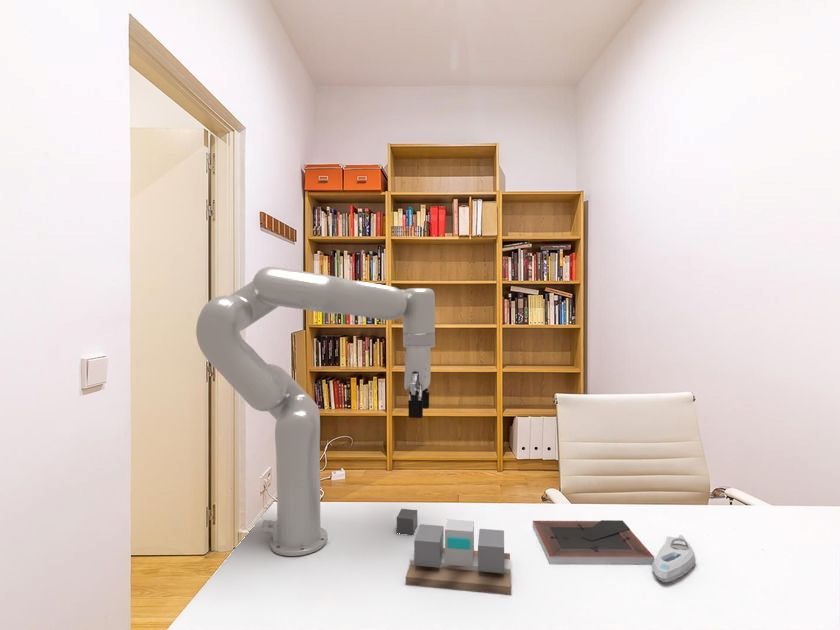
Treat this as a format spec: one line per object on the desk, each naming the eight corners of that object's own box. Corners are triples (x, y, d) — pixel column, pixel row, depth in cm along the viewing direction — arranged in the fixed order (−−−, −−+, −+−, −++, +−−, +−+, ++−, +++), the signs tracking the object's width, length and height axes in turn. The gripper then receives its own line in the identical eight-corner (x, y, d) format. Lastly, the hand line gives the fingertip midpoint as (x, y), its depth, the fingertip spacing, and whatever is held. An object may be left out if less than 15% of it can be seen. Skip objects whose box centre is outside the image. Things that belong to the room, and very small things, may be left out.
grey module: (444, 565, 95) (444, 530, 95) (447, 552, 100) (447, 519, 100) (472, 567, 94) (472, 532, 94) (473, 554, 99) (473, 521, 99)
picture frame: (622, 530, 116) (532, 529, 117) (622, 520, 116) (532, 519, 117) (654, 568, 100) (549, 567, 100) (654, 556, 100) (549, 555, 100)
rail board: (405, 584, 93) (405, 571, 93) (416, 552, 105) (416, 541, 105) (511, 594, 90) (511, 581, 90) (509, 560, 101) (509, 548, 101)
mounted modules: (414, 565, 95) (414, 540, 95) (420, 547, 102) (420, 524, 102) (504, 573, 92) (504, 547, 92) (504, 554, 99) (504, 530, 99)
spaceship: (685, 595, 90) (685, 571, 90) (646, 583, 94) (646, 560, 94) (701, 544, 108) (701, 524, 108) (669, 536, 112) (669, 517, 112)
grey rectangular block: (396, 534, 113) (396, 517, 113) (401, 524, 118) (401, 508, 118) (413, 536, 112) (413, 519, 112) (417, 526, 117) (417, 510, 117)
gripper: (410, 337, 123) (410, 404, 123) (395, 343, 106) (395, 421, 106) (439, 337, 121) (439, 405, 122) (429, 343, 104) (429, 422, 105)
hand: (419, 412), depth 114 cm, fingers open, 9 cm apart
